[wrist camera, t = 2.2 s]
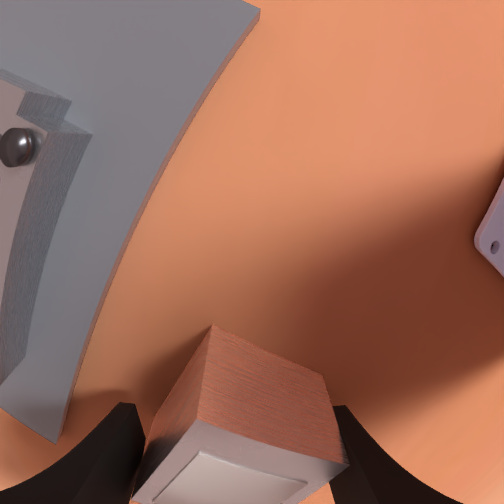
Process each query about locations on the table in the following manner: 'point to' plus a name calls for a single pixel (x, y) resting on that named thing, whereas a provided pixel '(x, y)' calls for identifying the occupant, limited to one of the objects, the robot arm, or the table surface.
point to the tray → (87, 165)
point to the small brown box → (240, 431)
